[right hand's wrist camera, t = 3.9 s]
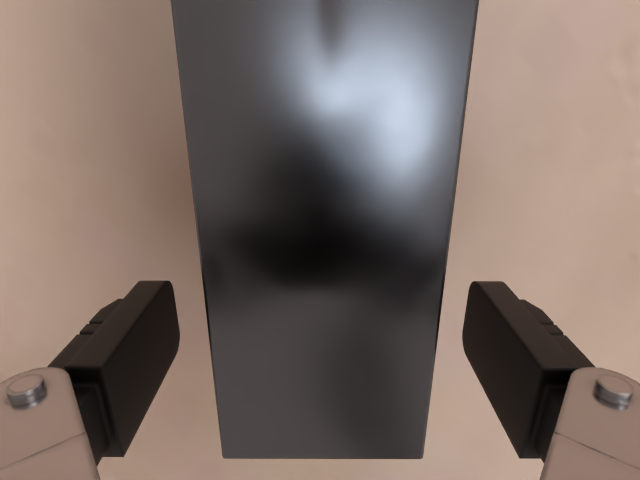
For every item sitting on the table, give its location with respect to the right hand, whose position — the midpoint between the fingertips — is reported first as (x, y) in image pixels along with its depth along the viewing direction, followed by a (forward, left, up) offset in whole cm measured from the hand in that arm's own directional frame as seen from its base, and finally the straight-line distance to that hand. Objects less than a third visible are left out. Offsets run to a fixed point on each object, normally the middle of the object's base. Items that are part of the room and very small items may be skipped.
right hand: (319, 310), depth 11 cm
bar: (+6, +6, -8) cm, 11 cm away
